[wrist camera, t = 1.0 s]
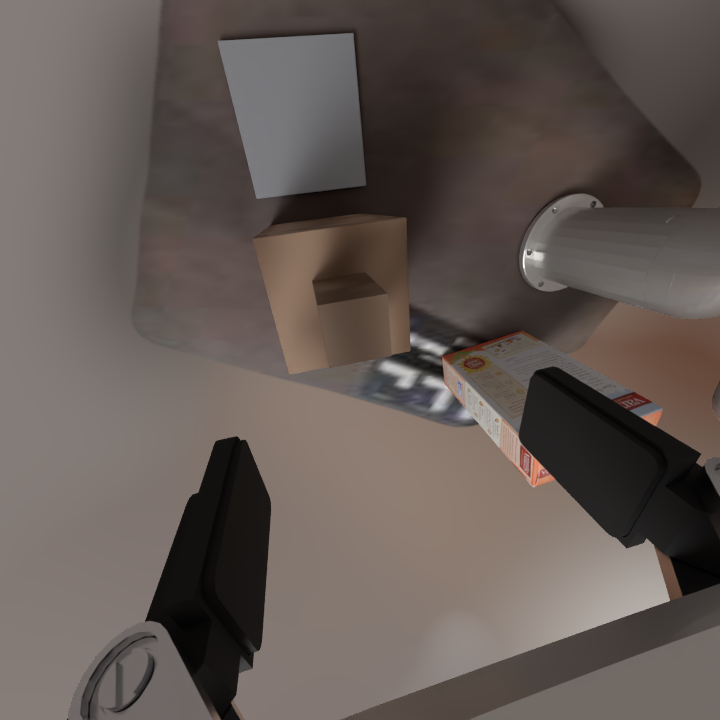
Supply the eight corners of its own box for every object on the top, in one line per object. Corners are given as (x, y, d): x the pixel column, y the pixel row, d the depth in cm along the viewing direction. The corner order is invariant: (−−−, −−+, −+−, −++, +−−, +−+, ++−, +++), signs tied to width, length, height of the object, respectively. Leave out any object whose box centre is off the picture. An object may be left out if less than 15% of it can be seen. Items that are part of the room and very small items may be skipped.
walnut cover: (361, 213, 34) (444, 221, 15) (370, 300, 39) (439, 388, 20) (270, 225, 33) (236, 250, 14) (291, 313, 38) (287, 420, 19)
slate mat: (352, 36, 27) (353, 33, 26) (365, 185, 33) (366, 185, 32) (219, 44, 26) (217, 40, 25) (257, 198, 31) (256, 198, 31)
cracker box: (443, 385, 49) (532, 491, 30) (440, 354, 46) (536, 452, 27) (520, 360, 49) (652, 449, 31) (522, 328, 46) (668, 407, 28)
